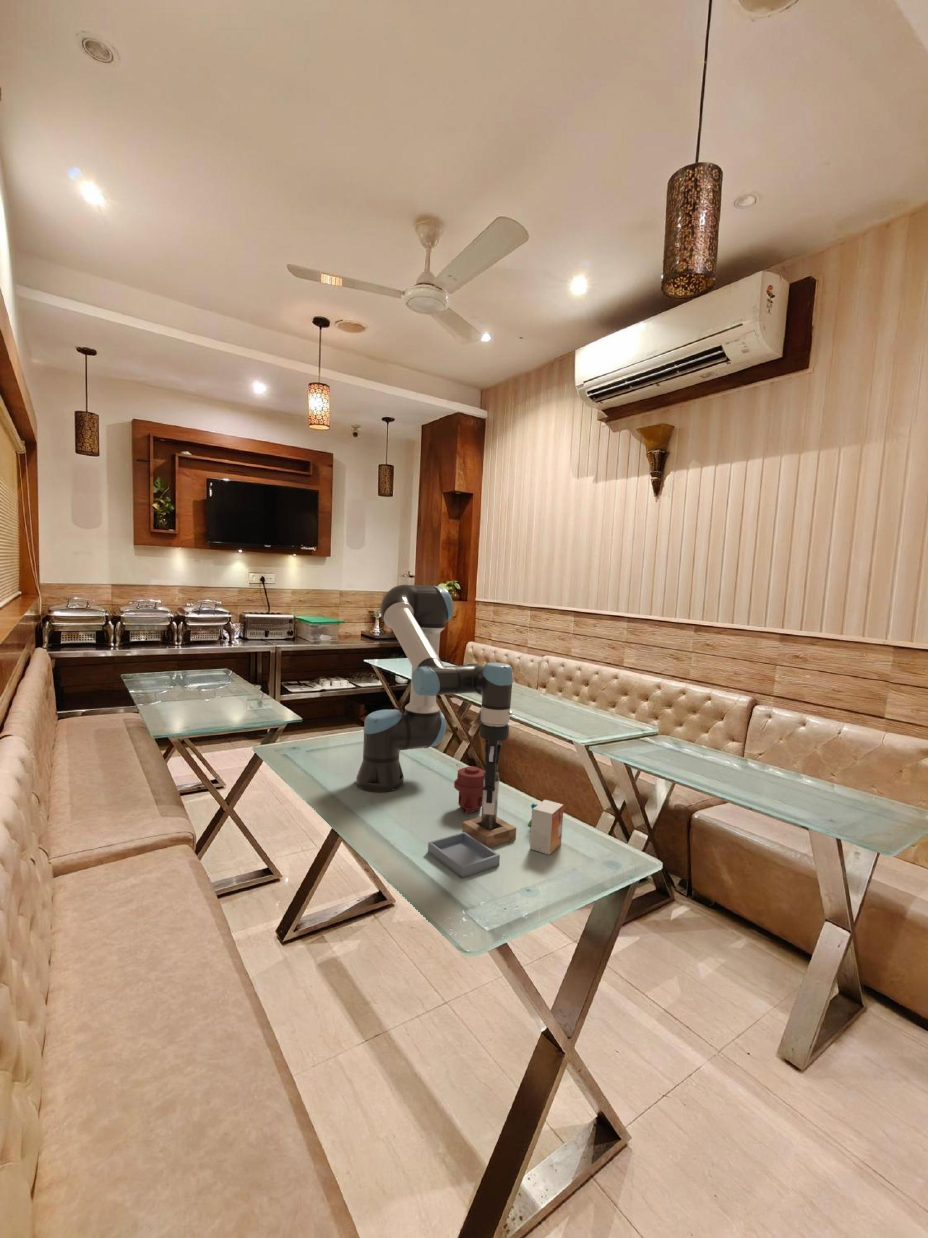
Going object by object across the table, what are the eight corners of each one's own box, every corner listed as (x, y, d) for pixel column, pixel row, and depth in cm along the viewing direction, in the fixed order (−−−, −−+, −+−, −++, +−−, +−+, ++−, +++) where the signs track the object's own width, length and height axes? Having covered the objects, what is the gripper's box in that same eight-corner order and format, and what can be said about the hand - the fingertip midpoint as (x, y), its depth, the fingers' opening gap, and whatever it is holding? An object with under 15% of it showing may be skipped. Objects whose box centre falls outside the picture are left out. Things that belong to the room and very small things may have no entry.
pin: (477, 824, 144) (481, 772, 143) (489, 820, 147) (492, 769, 146) (487, 830, 141) (490, 777, 140) (499, 826, 144) (502, 774, 143)
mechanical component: (489, 805, 164) (484, 818, 154) (456, 801, 166) (449, 814, 156) (491, 765, 163) (486, 776, 154) (459, 761, 165) (451, 772, 156)
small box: (549, 856, 135) (552, 814, 134) (529, 849, 138) (531, 808, 137) (561, 843, 142) (564, 804, 141) (542, 837, 145) (544, 798, 144)
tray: (427, 852, 134) (428, 842, 133) (463, 841, 140) (464, 831, 140) (461, 878, 122) (462, 867, 122) (499, 865, 129) (499, 855, 129)
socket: (462, 833, 145) (462, 822, 145) (491, 824, 151) (491, 814, 151) (486, 848, 137) (486, 837, 137) (515, 839, 143) (516, 828, 143)
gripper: (507, 733, 133) (501, 826, 135) (511, 716, 150) (505, 799, 152) (476, 730, 134) (471, 822, 136) (484, 713, 151) (479, 796, 153)
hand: (489, 809), depth 144 cm, fingers closed on pin, 4 cm apart
